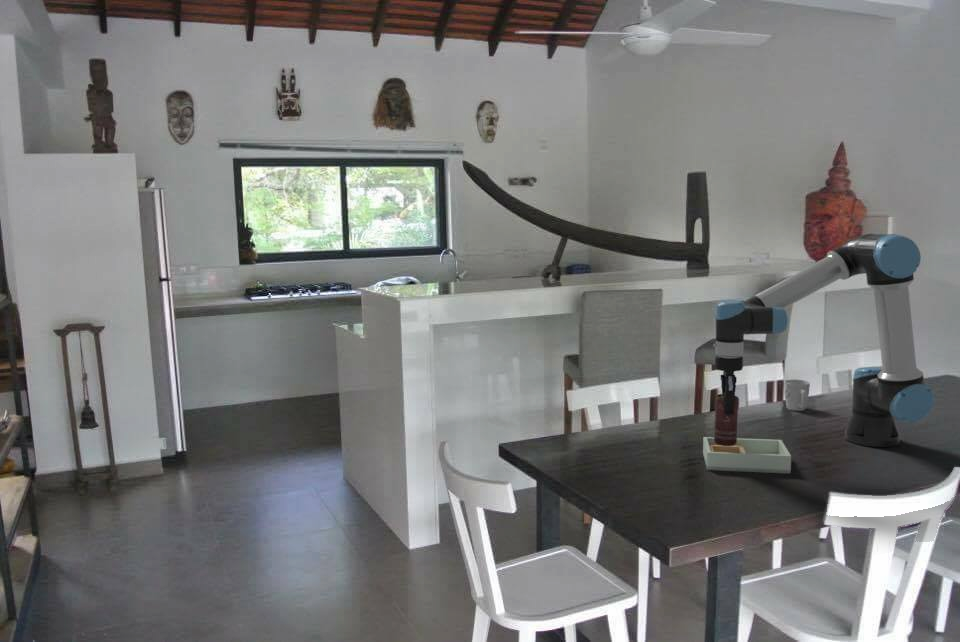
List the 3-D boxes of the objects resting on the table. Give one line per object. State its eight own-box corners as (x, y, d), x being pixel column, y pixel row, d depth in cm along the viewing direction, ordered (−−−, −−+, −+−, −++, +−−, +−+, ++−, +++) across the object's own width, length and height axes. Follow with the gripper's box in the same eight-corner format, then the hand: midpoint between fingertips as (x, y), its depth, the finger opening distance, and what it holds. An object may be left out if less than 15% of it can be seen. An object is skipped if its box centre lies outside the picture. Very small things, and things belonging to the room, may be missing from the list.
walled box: (780, 456, 219) (781, 439, 219) (790, 473, 205) (791, 456, 204) (703, 453, 224) (703, 437, 223) (707, 469, 209) (707, 452, 209)
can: (738, 446, 211) (740, 398, 209) (715, 445, 212) (716, 397, 210) (735, 441, 217) (737, 393, 215) (713, 439, 218) (714, 393, 216)
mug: (816, 413, 264) (817, 386, 262) (792, 414, 264) (793, 386, 262) (802, 405, 275) (803, 379, 273) (779, 406, 275) (780, 379, 274)
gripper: (713, 351, 218) (711, 429, 222) (717, 359, 206) (715, 442, 209) (740, 351, 217) (737, 430, 220) (746, 360, 204) (743, 443, 207)
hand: (727, 436), depth 214 cm, fingers closed
